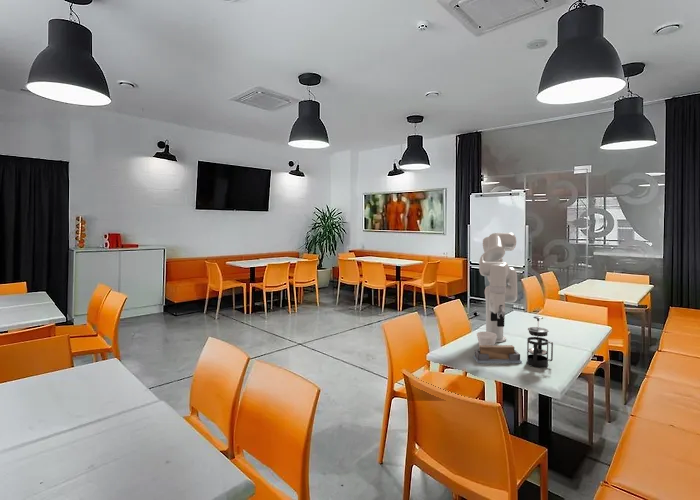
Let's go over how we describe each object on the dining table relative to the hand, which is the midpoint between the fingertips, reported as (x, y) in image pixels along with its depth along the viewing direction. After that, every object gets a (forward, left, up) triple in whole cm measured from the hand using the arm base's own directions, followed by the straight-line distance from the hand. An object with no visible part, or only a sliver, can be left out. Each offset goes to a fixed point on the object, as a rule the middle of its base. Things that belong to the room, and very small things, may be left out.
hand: (497, 323), depth 190 cm
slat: (0, 0, -17) cm, 17 cm away
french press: (+6, +17, -19) cm, 26 cm away
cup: (-13, -1, -19) cm, 22 cm away
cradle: (0, 0, -18) cm, 18 cm away
